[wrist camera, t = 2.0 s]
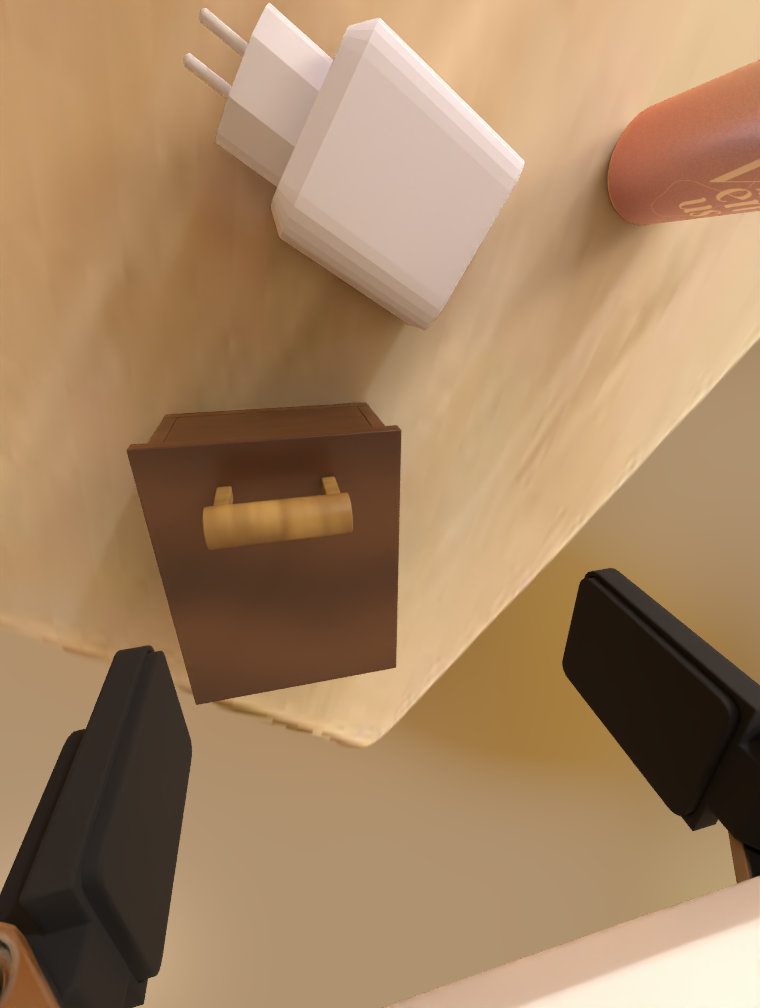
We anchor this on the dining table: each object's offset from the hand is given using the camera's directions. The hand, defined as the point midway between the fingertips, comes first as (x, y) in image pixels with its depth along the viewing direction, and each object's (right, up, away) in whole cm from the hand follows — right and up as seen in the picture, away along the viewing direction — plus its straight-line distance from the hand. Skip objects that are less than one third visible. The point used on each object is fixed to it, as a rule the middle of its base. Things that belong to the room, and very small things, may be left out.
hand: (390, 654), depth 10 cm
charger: (-3, +21, +14) cm, 26 cm away
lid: (-5, -1, +15) cm, 16 cm away
